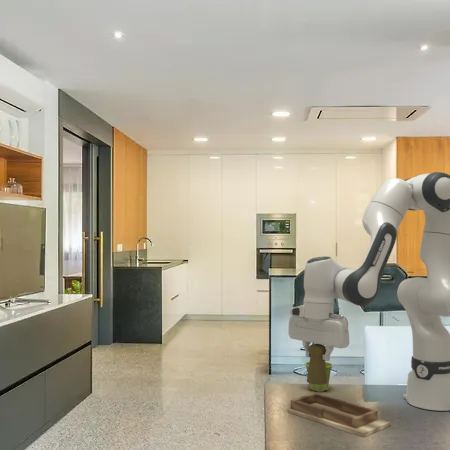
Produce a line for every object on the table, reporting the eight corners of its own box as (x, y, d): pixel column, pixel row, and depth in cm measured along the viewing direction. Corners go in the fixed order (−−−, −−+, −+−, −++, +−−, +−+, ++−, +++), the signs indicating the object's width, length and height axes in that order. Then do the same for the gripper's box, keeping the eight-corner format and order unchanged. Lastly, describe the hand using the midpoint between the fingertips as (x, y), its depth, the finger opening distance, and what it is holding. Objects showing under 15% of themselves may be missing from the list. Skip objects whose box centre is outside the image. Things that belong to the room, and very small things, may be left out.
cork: (327, 385, 157) (327, 346, 157) (306, 383, 158) (306, 345, 158) (327, 379, 163) (328, 343, 163) (307, 378, 164) (307, 341, 164)
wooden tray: (315, 403, 169) (315, 392, 169) (390, 425, 150) (390, 412, 150) (287, 412, 160) (288, 400, 161) (363, 437, 141) (363, 423, 141)
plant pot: (304, 385, 190) (304, 360, 190) (332, 386, 189) (332, 361, 189) (304, 392, 181) (305, 366, 181) (333, 394, 179) (333, 367, 179)
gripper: (354, 314, 155) (353, 363, 155) (299, 307, 170) (298, 351, 170) (341, 316, 151) (340, 366, 151) (285, 308, 166) (284, 354, 166)
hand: (317, 358), depth 161 cm, fingers closed on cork, 5 cm apart
